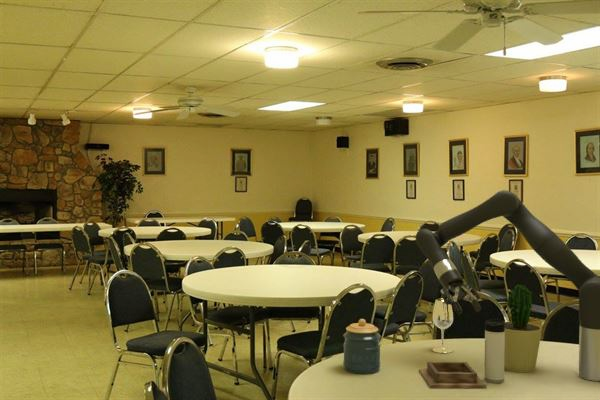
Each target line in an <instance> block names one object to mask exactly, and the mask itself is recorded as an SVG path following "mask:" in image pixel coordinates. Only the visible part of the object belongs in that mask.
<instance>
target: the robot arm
mask: <svg viewBox="0 0 600 400" xmlns="http://www.w3.org/2000/svg"><path fill="white" fill-rule="evenodd" d="M500 217H503V218H504V219H506V220H507V221H508V222H510V224H512V225H513V227H515V229H517V230H518V231H519V233H520V234H521V235H522V237H523V238H524V240H525V241H526V243H527V244H528V245H529V246H530V248H532V250H533V252H535V253H536V254H537V255H538V256H539V257H540V258H541V259H542V261H544V262H545V263H547V264H548V265H549V266H550V267H551V268H553V269H555V270H556V272H557V271H558V272H559V273H561V274H562V275H564V277H566V278H567V279H568V280H569V281H570V282H571V284H573V286H575V288H576V289H577V290H578V291H579V293H578V319H579V336H578V338H579V339H578V340H579V341H578V342H579V343H578V344H579V345H578V377H579V378H581V379H584V380H587V381H593V382H594V381H595V382H600V276H599V275H597V274H596V273H595V272H594V271H593V270H591V269H590V268H589V267H588V266H587V265H585V263H583V262H582V260H581V259H580V258H579V257H578V256H577V254H576V253H575V252H574V251H573V250H572V249H571V248H570V247H569V246H568V245H567V244H566V243H565V241H564V240H562V239H561V237H559V236H558V234H557V233H555V232H554V231H553V230H552V229H550V228H549V227H548V226H547V225H546V224H544V222H542V221H541V220H539V218H537V217H536V216H535V215H533V213H532V212H530V210H529V209H528V207H526V206H525V205H524V203H523V202H522V200H521V199H520V198H519V196H517V194H515V193H514V192H512V191H509V190H505V189H504V190H500V191H497V192H495V193H494V194H493V195H492V196H490V197H489V198H487V199H486V200H485V201H484V202H482V203H481V204H479V205H477V206H475V207H473V208H471V209H469V210H466V211H465V212H462V213H461V214H458V215H455V216H453V217H452V218H449V219H447V220H445V221H444V222H442V223H440V224H439V226H438V230H436V231H435V232H433V231H432V230H431V229H428V228H421V229H419V230H418V231H417V232H416V234H415V243H416V244H417V246H418V247H419V249H420V250H421V251H422V254H423V255H424V256H425V257H426V258H427V259H428V262H429V265H430V266H431V267H432V269H433V270H434V274H435V275H436V277H437V279H438V281H439V283H440V284H441V286H442V288H441V290H440V291H439V293H440V295H441V297H442V299H444V301H445V303H446V304H447V305H449V304H450V305H451V306H452V309H454V312H456V314H457V315H461V314H462V313H463V309H462V306H461V305H460V303H459V302H458V300H464V301H468V302H469V303H471V306H472V307H473V309H474V310H475V313H480V311H481V310H482V307H481V305H480V303H479V302H478V300H480V298H481V296H480V295H479V293H478V292H477V290H476V289H475V287H474V285H473V284H469V285H468V286H466V285H465V284H464V279H463V277H462V275H461V273H460V272H459V270H458V269H457V267H456V265H455V264H454V262H452V259H450V257H449V255H448V254H447V252H446V251H445V250H444V248H443V246H445V245H446V244H447V243H449V242H450V241H451V240H453V239H455V238H457V237H460V236H462V235H464V234H466V233H468V232H469V231H471V230H473V229H474V228H476V227H477V226H479V225H481V224H484V223H485V222H487V221H490V220H493V219H495V218H496V219H497V218H500ZM447 299H448V300H447Z"/></svg>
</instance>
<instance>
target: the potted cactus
mask: <svg viewBox="0 0 600 400" xmlns="http://www.w3.org/2000/svg"><path fill="white" fill-rule="evenodd" d="M519 284H520V283H518V284H515V286H514V288H513V289H512V290H510V294H508V296H507V299H505V301H507V302H506V307H507V309H508V311H509V312H508V313H509V314H510V315H509V316H510V317H509V318H510V319H511V321H504V322H505V328H504V329H505V350H504V370H506V371H511V372H516V373H531V372H533V371H534V372H535V370H536V366H537V360H538V354H539V347H540V343H541V336H542V329H543V327H541V326H540V325H538V324H534V323H530V318H531V317H530V316H531V312H533V311H534V307H533V302H532V293H533V291H530V290H529V289H528V287H526V284H523V285H522V284H520V285H519Z"/></svg>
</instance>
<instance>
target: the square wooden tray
mask: <svg viewBox="0 0 600 400" xmlns="http://www.w3.org/2000/svg"><path fill="white" fill-rule="evenodd" d="M418 372H419V375H421V377H422V378H423V381H425V382H426V384H427V386H428V387H429V389H487V388H488V387H487V384H486V383H485V382H484V381H483V380H482V379H481V378H480V377H479V375H478V372H476V371H475V370H474V368H472V366H470V364H469V363H468V362H467V361H426V368H418Z"/></svg>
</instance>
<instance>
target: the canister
mask: <svg viewBox="0 0 600 400" xmlns="http://www.w3.org/2000/svg"><path fill="white" fill-rule="evenodd" d="M345 330H346V332H344V333H343V337H344V343H343V360H342V361H343V362H342V364H343V369H344V371H346V372H349V373H353V374H360V375H361V374H362V375H363V374H366V375H368V374H369V375H370V374H374V373H378V372H379V371H380V367H381V347H382V346H381V344H380V339H381V337H382V336H381V335H380V333H378V331H379V328H378V327H377V326H375V325H374V324H371V323H367V321H366V319H364V318H360V319H359V320H358V322H356V323H351V324H349V325H348V326H346V328H345Z"/></svg>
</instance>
